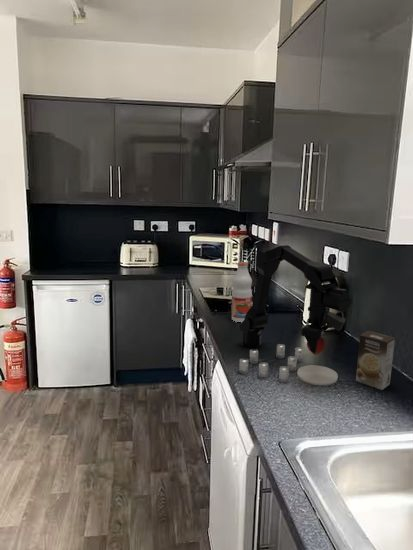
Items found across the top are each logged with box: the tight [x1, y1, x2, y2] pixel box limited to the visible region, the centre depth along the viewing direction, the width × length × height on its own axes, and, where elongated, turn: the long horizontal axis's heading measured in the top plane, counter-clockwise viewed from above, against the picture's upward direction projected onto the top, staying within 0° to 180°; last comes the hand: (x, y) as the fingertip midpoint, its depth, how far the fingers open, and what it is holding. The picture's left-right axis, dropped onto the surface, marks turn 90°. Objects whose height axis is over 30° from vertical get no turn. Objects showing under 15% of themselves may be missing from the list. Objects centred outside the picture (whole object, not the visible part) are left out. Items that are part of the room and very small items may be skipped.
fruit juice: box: [231, 261, 253, 324], centre depth 197 cm, size 9×9×28 cm
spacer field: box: [238, 343, 305, 384], centre depth 148 cm, size 17×22×4 cm
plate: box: [296, 364, 339, 387], centre depth 140 cm, size 13×13×1 cm
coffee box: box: [355, 330, 396, 391], centre depth 134 cm, size 9×6×16 cm
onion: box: [306, 337, 326, 356], centre depth 138 cm, size 6×6×8 cm
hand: (315, 349), depth 139 cm, fingers closed on onion, 6 cm apart
